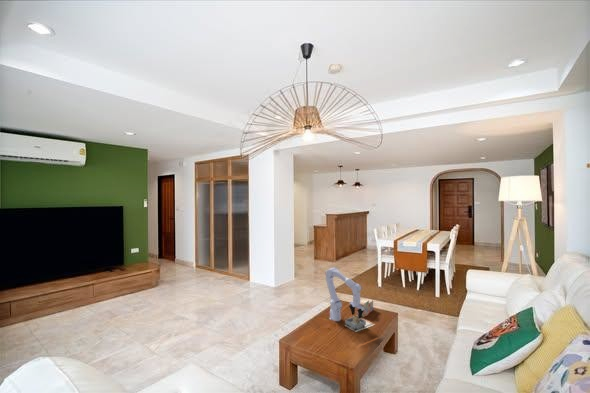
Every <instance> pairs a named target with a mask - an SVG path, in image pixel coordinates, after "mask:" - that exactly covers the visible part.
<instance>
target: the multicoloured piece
mask: <svg viewBox="0 0 590 393" xmlns="http://www.w3.org/2000/svg"><path fill="white" fill-rule="evenodd" d="M360 305H361V306H362V307H364V311H363V313H362V317H361V318H364V317H367V316H368V315H369V314H370V313H372V312H373V310H374V300H373V299H370V298H362V299H360ZM358 309H359V308H357V307H356V315H358V311H357V310H358ZM358 316H359V315H358Z"/></svg>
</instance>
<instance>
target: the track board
mask: <svg viewBox="0 0 590 393" xmlns="http://www.w3.org/2000/svg"><path fill="white" fill-rule="evenodd" d="M362 319H363V320H365V321H366V325H365V326H364V327H363V326H361V327H358V328H357V329H356V330H354V328H353V327H351V326H349V325H348V326H347V325H346V324H344V326H345V327H347V328H348V329H350V330H352V331H353V332H355V333H356V332H360V331H362V330H365V329H367V328H368V329H369V328H370V327H373V326H376V323H374V322H371V321H370V320H368V319H365V318H362Z"/></svg>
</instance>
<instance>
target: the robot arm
mask: <svg viewBox="0 0 590 393" xmlns="http://www.w3.org/2000/svg"><path fill="white" fill-rule="evenodd" d="M335 277H338V279H340V280H341V281H343V282H344V284H345V285H346V286H347V287H349V289H351V291H352V301H349V306H348V307H349V309H350V312H351V315H352V316H354V315H356V312H357V311H358V315H359V318H361V319H362V318H363V317H362V313H363V311H364V307H362V306H361V305H360V300H361V290H362V286H361V284H360V283H358V282H357V283H356V282H354V280H352V278H350V277H349V278H348V277H346V276H345V275H344V274H343V273H342V272H341V271H340V270H339V269H338V268H337V267H335V266H333V267H331V268H329V269H326V271H325V281H326V285H327V288H328V293H329V296H330V302H329V303H330V310H329V318H328V320H331V321H334V322H340V321H341V319H342V315H341V314H342V313H341V310H342V308H343V303H342V301H341V299H340V298H339V297H338V294H337V291H336V288H335V284H334V280H333V279H334V278H335ZM357 308H359V309H358V310H357ZM355 311H356V312H355Z"/></svg>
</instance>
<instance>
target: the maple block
mask: <svg viewBox="0 0 590 393" xmlns="http://www.w3.org/2000/svg"><path fill="white" fill-rule="evenodd" d="M352 317H353V322H354V323H355V324H358V323H360V318H359V316H358V315H357V314H354V315H352Z"/></svg>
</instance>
